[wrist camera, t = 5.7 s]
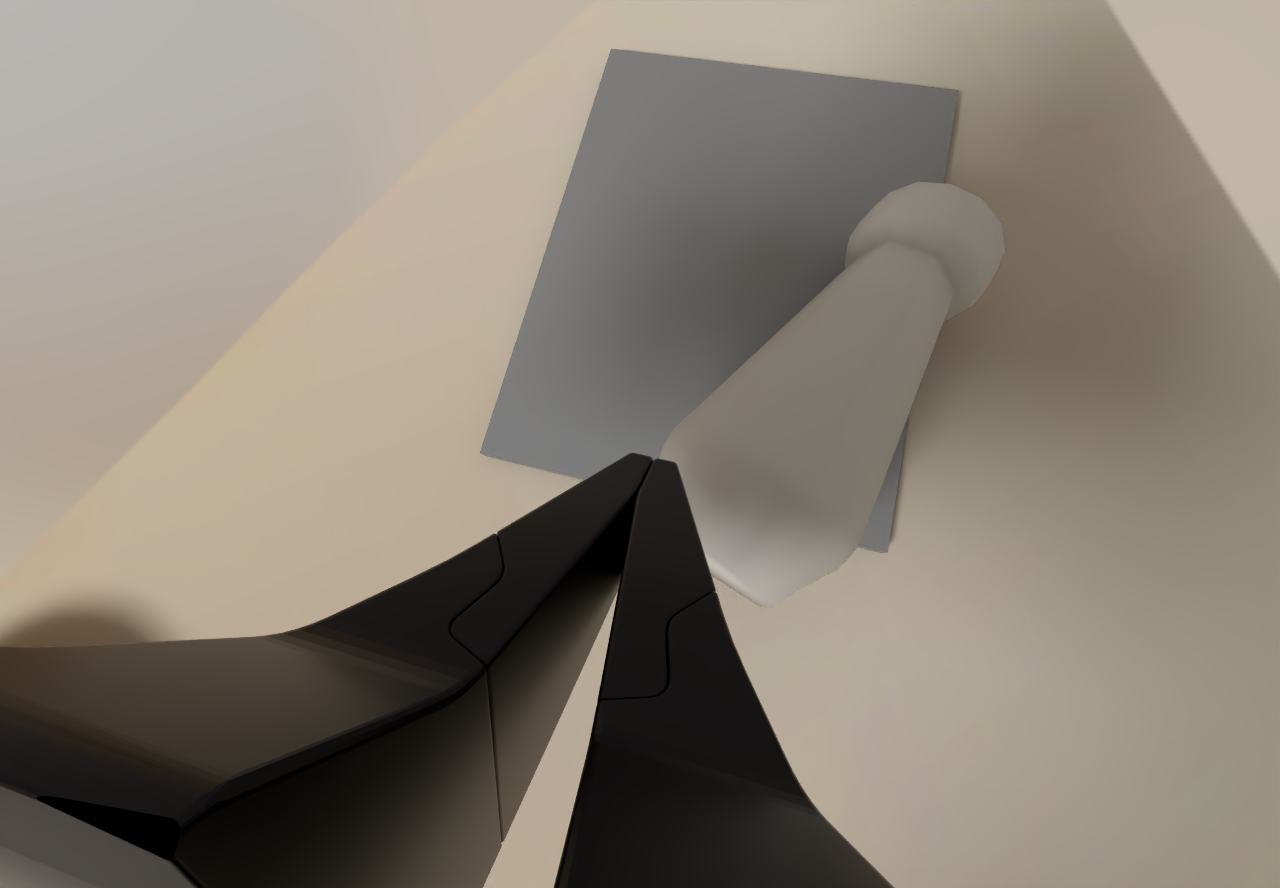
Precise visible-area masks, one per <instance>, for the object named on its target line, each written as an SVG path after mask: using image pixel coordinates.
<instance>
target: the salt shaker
mask: <svg viewBox="0 0 1280 888" xmlns="http://www.w3.org/2000/svg"><path fill="white" fill-rule="evenodd" d="M1005 250H1006V249H1005V242H1004V235H1003V228H1002V223H1001V221H1000V220H999V219H998V218H997V216H996V215H995V214H994V212H993V211H992V210H991V209H990V207H989V206H988V205H987V204H986V202H985V201H984V200H983V199H982V198H980V197H978V196H976V195H974V194H972V193H969V192H967V191H965V190H963V189H961V188H959V187H957V186H955V185H952V184H943V183H930V182H916V183H913V184H910V185H908V186H905V187H902V188H900V189H897V190H894V191H892V192H890V193H889V194H887V195H886V196H885V197H884V198H883V199H882V200H881V201H880V202H878V203H877V204H876V205H875V206H874V207H873V209H872V210H871V211H870V212H869V213H868V214H867V215H866V216H865V217H864V218H863V219H862V220H861V221H860V222H859V224H858V225H857V227H856V228H855V230H854V231H853V233H852V234H851V236H850V238H849V242H848V246H847V252H846V259H845V268H846V269H845V270H844V271H843V272H842V273H840V274H839V275H838V276H837V277H836V278H835V279H834V280H833V281H832V282H831V283H830V284H829V285H828V286H827V287H825V288H824V289H823V290H822V291H821V292H820V293H819V294H818V295H817V296H816V297H815V298H814V299H813V300H811V301H810V302H809V303H808V304H807V305H806V306H805V307H804V308H803V309H802V310H801V311H800V312H799V313H798V314H796V315H795V316H794V317H793V318H792V319H791V320H790V321H789V322H788V323H787V324H786V325H785V326H784V327H783V328H781V329H780V330H779V331H778V332H777V333H776V334H775V335H774V336H773V337H772V338H771V339H770V340H769V341H768V342H766V343H765V344H764V345H763V346H762V347H761V348H760V349H759V350H758V351H757V352H756V353H755V354H754V355H753V356H751V357H750V358H749V359H748V360H747V361H746V362H745V363H744V364H743V365H742V366H741V367H740V368H739V369H738V370H736V371H735V372H734V373H733V374H732V375H731V376H730V377H729V378H728V379H727V380H726V381H725V382H724V383H723V384H721V385H720V386H719V387H718V388H717V389H716V390H715V391H714V392H713V393H712V394H711V395H710V396H709V397H707V398H706V399H705V400H704V401H703V402H702V403H701V404H700V405H699V406H698V407H697V408H696V409H694V410H693V411H692V412H691V413H690V414H689V415H688V416H687V417H686V418H684V419H683V420H682V421H681V422H680V423H679V424H678V425H677V426H676V427H675V428H674V429H673V430H672V431H671V433H670V435H669V437H668V438H667V440H666V442H665V444H664V445H663V448H662V451H661V454H660V458H659V459H663V460H667V461H672V462H675V463H676V464H677V465H678V468H679V471H680V475H681V478H682V481H683V484H684V488H685V491H686V494H687V498H688V501H689V504H690V507H691V511H692V514H693V517H694V521H695V524H696V527H697V530H698V534H699V537H700V540H701V543H702V547H703V550H704V553H705V557H706V560H707V563H708V566H709V570H710V573H711V575H712V576H713V577H715V578H716V579H718V580H720V581H721V582H723V583H724V584H726V585H727V586H729V587H730V588H732V589H733V590H735V591H736V592H738V593H740V594H741V595H743V596H744V597H746V598H747V599H749V600H750V601H752V602H753V603H755V604H756V605H758V606H760V607H773V606H775V605H776V604H778V603H779V602H781V601H782V600H784V599H785V598H787V597H788V596H790V595H791V594H793V593H794V592H796V591H798V590H799V589H801V588H803V587H805V586H806V585H808V584H810V583H812V582H814V581H816V580H818V579H820V578H822V577H824V576H826V575H828V574H829V573H831V572H833V571H835V570H837V569H838V568H839V567H840V566H841V565H842V564H843V563H844V562H845V561H846V560H847V559H848V558H849V557H850V556H851V555H852V553H853V552H854V551H855V549H856V548H857V547H858V545H859V544H860V542H861V539H862V537H863V534H864V531H865V529H866V526H867V523H868V521H869V518H870V515H871V513H872V510H873V508H874V505H875V502H876V500H877V497H878V494H879V492H880V489H881V486H882V484H883V481H884V478H885V476H886V473H887V470H888V468H889V465H890V463H891V460H892V457H893V455H894V452H895V449H896V447H897V444H898V441H899V439H900V436H901V433H902V431H903V428H904V425H905V423H906V420H907V417H908V415H909V412H910V410H911V407H912V404H913V402H914V399H915V396H916V394H917V391H918V388H919V386H920V383H921V380H922V378H923V375H924V372H925V370H926V367H927V365H928V362H929V359H930V357H931V354H932V351H933V349H934V346H935V343H936V341H937V338H938V335H939V333H940V330H941V327H942V325H943V322H944V321H947V320H949V319H951V318H952V317H954V316H956V315H958V314H959V313H961V312H963V311H964V310H966V309H968V308H969V307H971V306H972V305H974V304H975V303H976V302H977V301H978V300H979V298H980V297H981V296H982V295H983V293H984V292H985V291H986V289H987V288H988V286H989V284H990V283H991V281H992V279H993V277H994V275H995V274H996V272H997V270H998V268H999V266H1000V264H1001V261H1002V258H1003V256H1004V253H1005Z"/></svg>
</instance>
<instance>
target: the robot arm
mask: <svg viewBox="0 0 1280 888" xmlns="http://www.w3.org/2000/svg"><path fill="white" fill-rule="evenodd" d="M617 591H618V595H617V600H616V605H615V611H614V616H613V621H612V627H611V632H610V637H609V643H608V648H607V653H606V659H605V664H604V669H603V675H602V680H601V685H600V691H599V696H598V702H597V707H596V712H595V717H594V722H593V727H592V732H591V737H590V742H589V746H588V751H587V755H586V759H585V763H584V767H583V771H582V775H581V779H580V784H579V788H578V792H577V796H576V800H575V804H574V808H573V812H572V816H571V820H570V824H569V828H568V832H567V836H566V840H565V844H564V848H563V852H562V856H561V860H560V864H559V869H558V873H557V877H556V881H555V885H554V888H894V887H893V886H892V885H891V884H890V883H889V882H888V881H887V880H886V879H885V878H884V877H883V876H882V875H881V874H880V873H879V872H878V871H877V870H876V869H875V868H874V867H873V866H872V865H871V864H870V863H869V862H868V861H867V860H866V859H865V858H864V857H863V856H862V855H861V854H860V853H859V852H858V851H857V850H856V849H855V848H854V847H853V846H852V845H851V844H850V843H849V842H848V841H847V840H846V839H845V838H844V837H843V836H842V835H841V834H840V833H839V832H838V831H837V830H836V829H835V828H834V827H833V826H832V825H831V824H830V823H829V822H828V821H827V820H826V818H825V817H824V816H823V815H822V814H821V813H820V812H819V810H818V809H817V808H816V807H815V805H814V804H813V803H812V801H811V800H810V798H809V797H808V795H807V794H806V793H805V791H804V790H803V788H802V786H801V785H800V783H799V781H798V780H797V778H796V776H795V774H794V772H793V770H792V768H791V766H790V764H789V762H788V760H787V758H786V756H785V754H784V752H783V750H782V748H781V745H780V743H779V741H778V739H777V737H776V735H775V733H774V731H773V728H772V726H771V724H770V722H769V720H768V718H767V716H766V713H765V711H764V709H763V707H762V705H761V703H760V701H759V698H758V696H757V694H756V692H755V690H754V688H753V686H752V683H751V681H750V679H749V677H748V675H747V673H746V670H745V668H744V666H743V663H742V661H741V659H740V656H739V654H738V652H737V650H736V647H735V645H734V643H733V640H732V637H731V634H730V632H729V629H728V626H727V623H726V620H725V617H724V614H723V611H722V608H721V605H720V602H719V598H718V595H717V593H715V592H716V589H715V586H714V583H713V579H712V576H711V573H710V570H709V566H708V563H707V560H706V557H705V553H704V550H703V547H702V543H701V540H700V537H699V534H698V530H697V527H696V524H695V521H694V517H693V514H692V511H691V507H690V504H689V501H688V498H687V494H686V491H685V488H684V484H683V481H682V478H681V475H680V471H679V468H678V465H677V464H676V463H675V462H672V461H667V460H663V459H659V458H656V459H654V460H653V458H652V457H650V456H646V455H642V454H637V453H630V454H628V455H626V456H624V457H623V458H621V459H619V460H618V461H616V462H614V463H612V464H611V465H609V466H607V467H606V468H604V469H602V470H601V471H599V472H597V473H596V474H594V475H592V476H591V477H589V478H587V479H585V480H584V481H582V482H580V483H579V484H577V485H575V486H574V487H572V488H570V489H569V490H567V491H565V492H564V493H562V494H560V495H558V496H557V497H555V498H553V499H552V500H550V501H548V502H547V503H545V504H543V505H542V506H540V507H538V508H537V509H535V510H533V511H531V512H530V513H528V514H526V515H525V516H523V517H521V518H520V519H518V520H516V521H515V522H513V523H511V524H510V525H508V526H506V527H504V528H503V529H501V530H499V531H498V532H497V535H496V534H492V535H491V536H489V537H487V538H486V539H484V540H482V541H480V542H479V543H477V544H475V545H474V546H472V547H470V548H468V549H466V550H465V551H463V552H461V553H459V554H457V555H456V556H454V557H452V558H450V559H448V560H447V561H445V562H443V563H440V564H438V565H436V566H434V567H432V568H430V569H428V570H426V571H424V572H422V573H420V574H418V575H416V576H414V577H412V578H410V579H408V580H406V581H404V582H402V583H399V584H397V585H395V586H393V587H391V588H389V589H387V590H385V591H382V592H380V593H378V594H376V595H374V596H372V597H370V598H368V599H365V600H363V601H361V602H359V603H357V604H355V605H353V606H351V607H348V608H346V609H344V610H342V611H340V612H338V613H336V614H334V615H331V616H329V617H327V618H325V619H322V620H320V621H318V622H315V623H313V624H310V625H307V626H304V627H301V628H298V629H295V630H291V631H287V632H283V633H279V634H272V635H266V636H257V637H240V638H220V639H199V640H179V641H159V642H139V643H119V644H99V645H79V646H55V647H9V646H0V888H483V886H484V884H485V882H486V879H487V877H488V875H489V873H490V871H491V868H492V866H493V864H494V862H495V860H496V857H497V855H498V853H499V851H500V849H501V846H502V844H501V842H503V841H504V839H505V837H506V835H507V833H508V831H509V829H510V826H511V824H512V822H513V820H514V818H515V815H516V813H517V811H518V809H519V807H520V804H521V802H522V800H523V798H524V796H525V793H526V791H527V789H528V787H529V785H530V782H531V780H532V778H533V776H534V774H535V771H536V769H537V767H538V765H539V763H540V760H541V758H542V756H543V754H544V752H545V749H546V747H547V745H548V743H549V741H550V738H551V736H552V734H553V732H554V730H555V727H556V725H557V723H558V721H559V719H560V716H561V714H562V712H563V710H564V708H565V705H566V703H567V701H568V699H569V697H570V694H571V692H572V690H573V688H574V686H575V684H576V681H577V679H578V677H579V675H580V673H581V670H582V668H583V666H584V664H585V662H586V659H587V657H588V655H589V653H590V651H591V648H592V646H593V644H594V642H595V640H596V637H597V635H598V633H599V631H600V629H601V626H602V624H603V622H604V620H605V618H606V615H607V613H608V611H609V609H610V607H611V604H612V602H613V600H614V598H615V596H616V593H617Z"/></svg>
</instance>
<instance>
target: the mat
mask: <svg viewBox="0 0 1280 888" xmlns="http://www.w3.org/2000/svg"><path fill="white" fill-rule="evenodd" d="M957 97H958V90H951V89H943V88H934V87H926V86H918V85H909V84H901V83H892V82H884V81H876V80H867V79H859V78H851V77H842V76H834V75H826V74H817V73H809V72H801V71H792V70H784V69H776V68H767V67H759V66H751V65H742V64H734V63H726V62H717V61H709V60H701V59H692V58H684V57H676V56H667V55H659V54H651V53H642V52H634V51H626V50H617V49H611V51H610V54H609V57H608V60H607V63H606V66H605V69H604V73H603V76H602V79H601V82H600V85H599V88H598V91H597V94H596V97H595V100H594V103H593V106H592V109H591V113H590V116H589V119H588V122H587V125H586V128H585V131H584V134H583V137H582V140H581V143H580V146H579V149H578V153H577V156H576V159H575V162H574V165H573V168H572V171H571V174H570V177H569V180H568V183H567V186H566V190H565V193H564V196H563V199H562V202H561V205H560V208H559V211H558V214H557V217H556V220H555V223H554V226H553V230H552V233H551V236H550V239H549V242H548V245H547V248H546V251H545V254H544V257H543V260H542V263H541V266H540V270H539V273H538V276H537V279H536V282H535V285H534V288H533V291H532V294H531V297H530V300H529V303H528V306H527V310H526V313H525V316H524V319H523V322H522V325H521V328H520V331H519V334H518V337H517V340H516V343H515V347H514V350H513V353H512V356H511V359H510V362H509V365H508V368H507V371H506V374H505V377H504V380H503V383H502V387H501V390H500V393H499V396H498V399H497V402H496V405H495V408H494V411H493V414H492V417H491V420H490V423H489V427H488V430H487V433H486V436H485V439H484V442H483V445H482V448H481V451H480V453H481V454H483V455H485V456H489V457H493V458H497V459H501V460H505V461H509V462H513V463H517V464H521V465H525V466H529V467H533V468H538V469H542V470H546V471H550V472H554V473H558V474H562V475H566V476H570V477H574V478H578V479H582V480H585V479H587V478H589V477H591V476H592V475H594V474H596V473H597V472H599V471H601V470H602V469H604V468H606V467H607V466H609V465H611V464H612V463H614V462H616V461H618V460H619V459H621V458H623V457H624V456H626V455H628V454H630V453H637V454H642V455H646V456H650V457H652V458H653V460H654V459H656V458H660V454H661V451H662V448H663V445H664V444H665V442H666V440H667V438H668V437H669V435H670V433H671V431H672V430H673V429H674V428H675V427H676V426H677V425H678V424H679V423H680V422H681V421H682V420H683V419H684V418H686V417H687V416H688V415H689V414H690V413H691V412H692V411H693V410H694V409H696V408H697V407H698V406H699V405H700V404H701V403H702V402H703V401H704V400H705V399H706V398H707V397H709V396H710V395H711V394H712V393H713V392H714V391H715V390H716V389H717V388H718V387H719V386H720V385H721V384H723V383H724V382H725V381H726V380H727V379H728V378H729V377H730V376H731V375H732V374H733V373H734V372H735V371H736V370H738V369H739V368H740V367H741V366H742V365H743V364H744V363H745V362H746V361H747V360H748V359H749V358H750V357H751V356H753V355H754V354H755V353H756V352H757V351H758V350H759V349H760V348H761V347H762V346H763V345H764V344H765V343H766V342H768V341H769V340H770V339H771V338H772V337H773V336H774V335H775V334H776V333H777V332H778V331H779V330H780V329H781V328H783V327H784V326H785V325H786V324H787V323H788V322H789V321H790V320H791V319H792V318H793V317H794V316H795V315H796V314H798V313H799V312H800V311H801V310H802V309H803V308H804V307H805V306H806V305H807V304H808V303H809V302H810V301H811V300H813V299H814V298H815V297H816V296H817V295H818V294H819V293H820V292H821V291H822V290H823V289H824V288H825V287H827V286H828V285H829V284H830V283H831V282H832V281H833V280H834V279H835V278H836V277H837V276H838V275H839V274H840V273H842V272H843V271H844V270H845V269H846V268H845V259H846V252H847V246H848V242H849V238H850V236H851V234H852V233H853V231H854V230H855V228H856V227H857V225H858V224H859V222H860V221H861V220H862V219H863V218H864V217H865V216H866V215H867V214H868V213H869V212H870V211H871V210H872V209H873V207H874V206H875V205H876V204H877V203H878V202H880V201H881V200H882V199H883V198H884V197H885V196H886V195H887V194H889V193H890V192H892V191H894V190H897V189H900V188H902V187H905V186H908V185H910V184H913V183H916V182H930V183H943V184H944V182H945V175H946V168H947V162H948V155H949V149H950V142H951V136H952V129H953V123H954V116H955V110H956V103H957ZM908 416H909V415H908ZM907 423H908V417H907V420H906V423H905V425H904V428H903V431H902V433H901V436H900V439H899V441H898V444H897V447H896V449H895V452H894V455H893V457H892V460H891V463H890V465H889V468H888V470H887V473H886V476H885V478H884V481H883V484H882V486H881V489H880V492H879V494H878V497H877V500H876V502H875V505H874V508H873V510H872V513H871V515H870V518H869V521H868V523H867V526H866V529H865V531H864V534H863V537H862V539H861V542H860V544H859V545H858V547H860V548H864V549H868V550H872V551H877V552H881V553H888V547H889V540H890V534H891V527H892V521H893V514H894V508H895V501H896V495H897V488H898V482H899V475H900V469H901V462H902V456H903V449H904V443H905V436H906V430H907Z"/></svg>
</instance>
